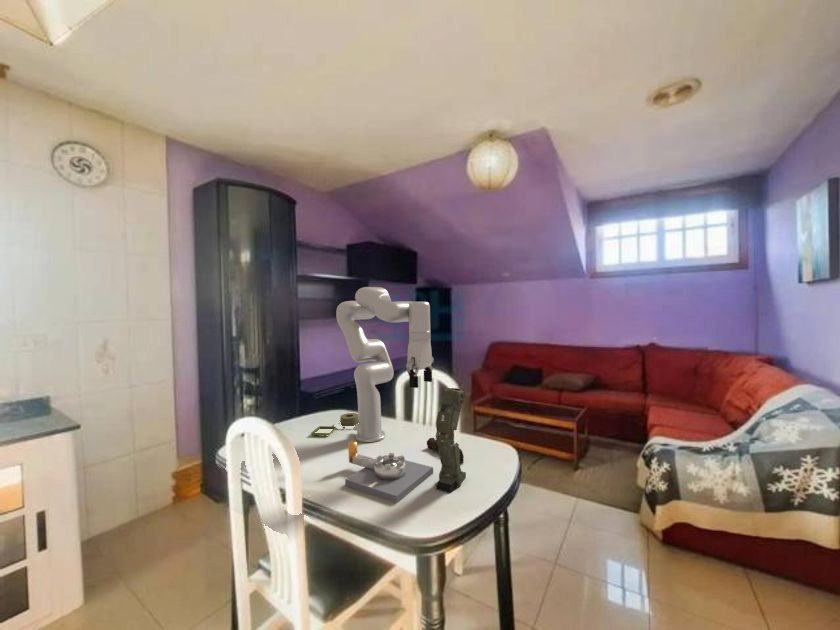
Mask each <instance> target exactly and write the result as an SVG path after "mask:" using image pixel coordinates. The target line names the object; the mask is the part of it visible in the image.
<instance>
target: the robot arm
mask: <svg viewBox="0 0 840 630" xmlns="http://www.w3.org/2000/svg"><path fill="white" fill-rule="evenodd" d="M354 299H355V300H348V301H347V300H346V301H343V302H341V303H339V305H337V308H336V311H335V312H336V313H335V314H336V315H335V316H336V321H337V324H338V326H339V328H340V330H341V331H342V334H343V335H344V338H345V342H346V345H347V348H348V351H349V353H350V356H351V358H352V360H353V361H354V362H355V363H362V364H359V365H358V366H357V367H356V368H355V370H354V372H353V378H354V381H355V386H356V392H357V393H356V396H357V409H358V411H357V414H358V419H359V424H356V425H355V427H354V428H353V430H352V431H356V432H357V433H356V434H355V441H357V442H360V443H374V442H378V441H379V442H380V441H381V440H384V439H385V437H386V432H385V431H384V430H382V411H381V410H382V407H381V395H380V392H379V390H378V388H377V387H376V385H379V384H384V383H388V382H390V381H391V380H392V379H393V378H394V375H395V373H394V366H393V363H392V361H391V359H390V355H389V352H388V350H387V347H386V345H385V343H384V342H383V341H382V340H380V339H377V338H370V339H369V338H367V336H366V334H365V332H364V329H363V327H361V325H360V324H358V323H357V320H360V321H361V320H370V319H373V318H375V317H377V318H378V319H380V320H381V321H385V322H386V323H387V322H388V323H394V324H395V323H405V322H407V323H408V325H409V326H408V331H409V335H408V336H409V342H408V345H407V363H406V364H405V367H406V371H407V372H406V373H407V374H408V377H409V387H410V388H415V389H418V388H419V376H418V374H419V371H420V370H423V381H424V382H427V383H428V382H429V383H432V382H433V366H434V360H435V359H434V357H433V356H432V355H433V354H432V345H431V344H432V343H431V337H432V335H431V306H430V303H429V302H428V301H411V300H409V301H405V300H403V301H392V299H391V297H390V294H389V292H388V291H387V289H385V288H384V287H380V286H364V287H360V288H359V289H358V290H357V291H356V292H355V295H354ZM355 320H356V321H355ZM371 361H373V362H371ZM364 362H367V363H364Z"/></svg>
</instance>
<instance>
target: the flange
mask: <svg viewBox="0 0 840 630" xmlns="http://www.w3.org/2000/svg"><path fill="white" fill-rule="evenodd" d="M339 419H340V420H339V421H340V422H341V425H342V426H354V425H356V424H358V423H359V418H358V413H357V412H356V413H355V412H348V413H344V414H342V415H340V417H339Z"/></svg>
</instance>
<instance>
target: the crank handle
mask: <svg viewBox="0 0 840 630" xmlns="http://www.w3.org/2000/svg"><path fill="white" fill-rule="evenodd" d="M347 446H348V463H350V464H353V465H355V466H360V467H363V468H365V467H366V468H370V469H373V470H374V473H375V477H377V478H378V479H381V480H395V479H398V478H401V477H402V476H404V475H405V473H406V462H405V460H406V459H405V456H404V455H398V456H395V453H394V452H393V453H392V452H390V453H388V456H389V457H383V456H382V455H378V456H376V458H374V457H370V456H366V455H363V454H358V441H357V440H351V441H350V440H349V441H348V442H347Z"/></svg>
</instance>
